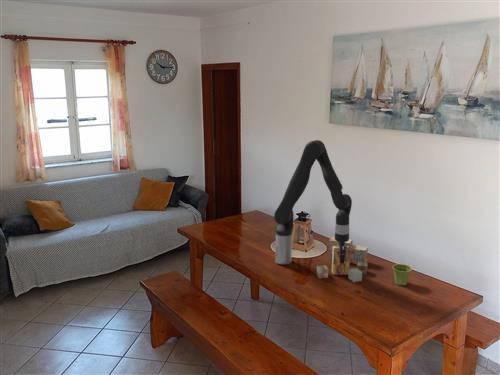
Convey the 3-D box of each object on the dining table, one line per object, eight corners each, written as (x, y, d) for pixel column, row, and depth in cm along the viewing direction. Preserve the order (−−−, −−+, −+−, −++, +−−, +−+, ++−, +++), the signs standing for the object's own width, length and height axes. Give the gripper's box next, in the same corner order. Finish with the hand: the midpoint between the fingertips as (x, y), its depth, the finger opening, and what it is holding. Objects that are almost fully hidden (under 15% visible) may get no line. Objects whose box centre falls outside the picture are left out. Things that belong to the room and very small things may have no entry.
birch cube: (318, 278, 237) (319, 269, 236) (316, 274, 242) (316, 265, 241) (328, 277, 238) (328, 269, 236) (325, 273, 242) (325, 265, 241)
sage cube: (353, 282, 232) (354, 273, 231) (348, 278, 237) (348, 269, 236) (361, 280, 234) (362, 271, 233) (356, 276, 239) (356, 268, 237)
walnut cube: (356, 273, 242) (357, 265, 241) (357, 270, 247) (358, 261, 246) (366, 275, 241) (366, 266, 239) (366, 271, 245) (367, 262, 244)
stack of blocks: (367, 262, 258) (368, 242, 255) (364, 266, 252) (365, 245, 249) (331, 255, 267) (332, 236, 264) (328, 259, 262) (329, 239, 259)
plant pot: (401, 288, 225) (402, 273, 222) (387, 281, 233) (388, 266, 231) (414, 284, 229) (415, 269, 227) (400, 277, 237) (401, 262, 235)
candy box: (347, 271, 245) (348, 245, 241) (349, 274, 241) (350, 248, 237) (331, 271, 245) (332, 245, 241) (332, 275, 241) (334, 248, 237)
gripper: (333, 227, 244) (332, 254, 248) (336, 236, 230) (335, 265, 234) (347, 227, 244) (346, 254, 247) (351, 236, 230) (350, 265, 234)
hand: (341, 259), depth 241 cm, fingers open, 8 cm apart
